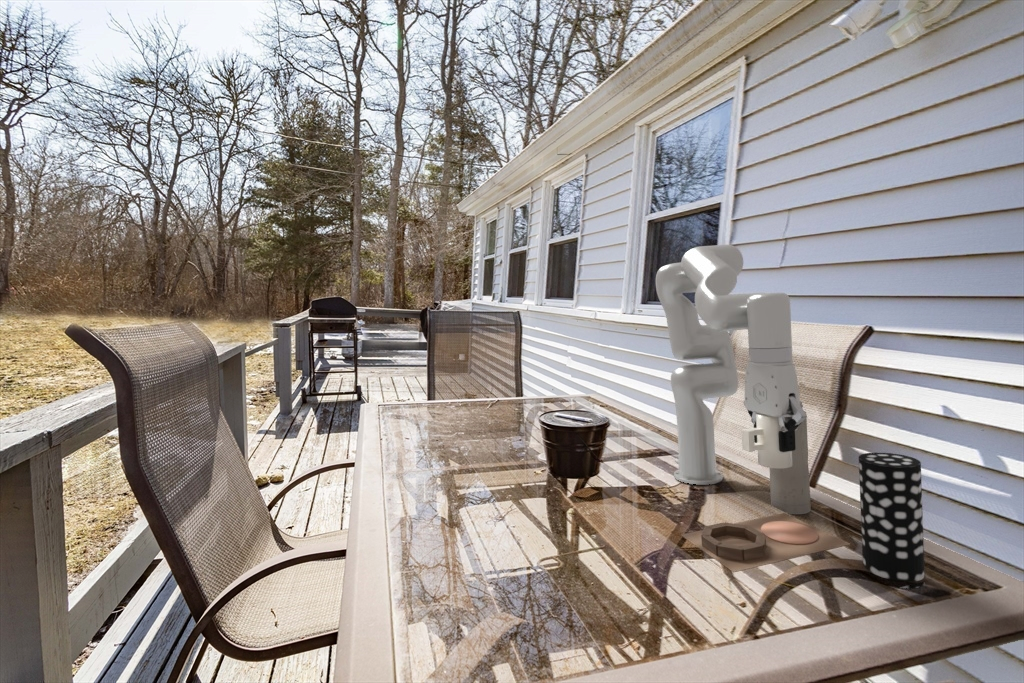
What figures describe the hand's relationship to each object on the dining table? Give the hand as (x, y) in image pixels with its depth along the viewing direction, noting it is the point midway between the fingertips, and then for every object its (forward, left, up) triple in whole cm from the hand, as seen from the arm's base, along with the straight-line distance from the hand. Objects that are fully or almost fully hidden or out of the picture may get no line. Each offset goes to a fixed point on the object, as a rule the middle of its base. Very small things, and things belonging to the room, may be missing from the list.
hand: (774, 445), depth 98 cm
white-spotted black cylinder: (+17, +7, -19) cm, 27 cm away
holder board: (0, -4, -19) cm, 20 cm away
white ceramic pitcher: (0, -1, -4) cm, 4 cm away
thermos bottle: (-12, +14, -19) cm, 27 cm away
